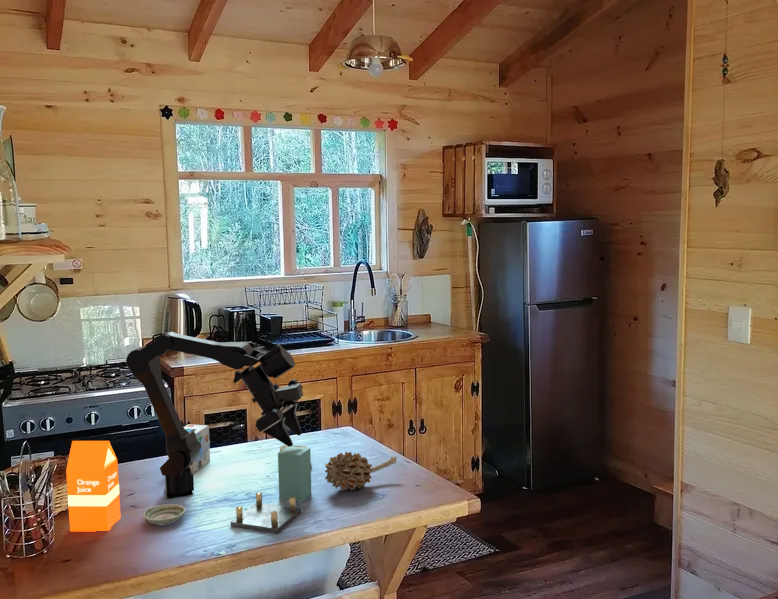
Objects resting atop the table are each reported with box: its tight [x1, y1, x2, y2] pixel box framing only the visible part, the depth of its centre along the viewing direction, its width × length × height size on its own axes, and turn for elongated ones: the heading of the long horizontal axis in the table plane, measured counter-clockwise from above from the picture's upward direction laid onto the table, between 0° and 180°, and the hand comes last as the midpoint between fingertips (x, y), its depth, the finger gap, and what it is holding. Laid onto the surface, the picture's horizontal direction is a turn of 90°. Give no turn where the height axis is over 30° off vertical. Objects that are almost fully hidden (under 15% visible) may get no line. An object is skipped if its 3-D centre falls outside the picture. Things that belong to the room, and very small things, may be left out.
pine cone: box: [324, 451, 398, 491], centre depth 195 cm, size 22×10×10 cm, turn 129°
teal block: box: [277, 445, 312, 503], centre depth 188 cm, size 6×6×12 cm
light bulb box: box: [183, 424, 211, 474], centre depth 212 cm, size 11×7×11 cm, turn 168°
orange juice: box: [65, 440, 122, 533], centre depth 172 cm, size 8×9×20 cm
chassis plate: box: [230, 492, 302, 535], centre depth 174 cm, size 12×12×4 cm
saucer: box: [142, 503, 187, 525], centre depth 175 cm, size 10×10×2 cm
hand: (295, 440), depth 187 cm, fingers open, 9 cm apart
